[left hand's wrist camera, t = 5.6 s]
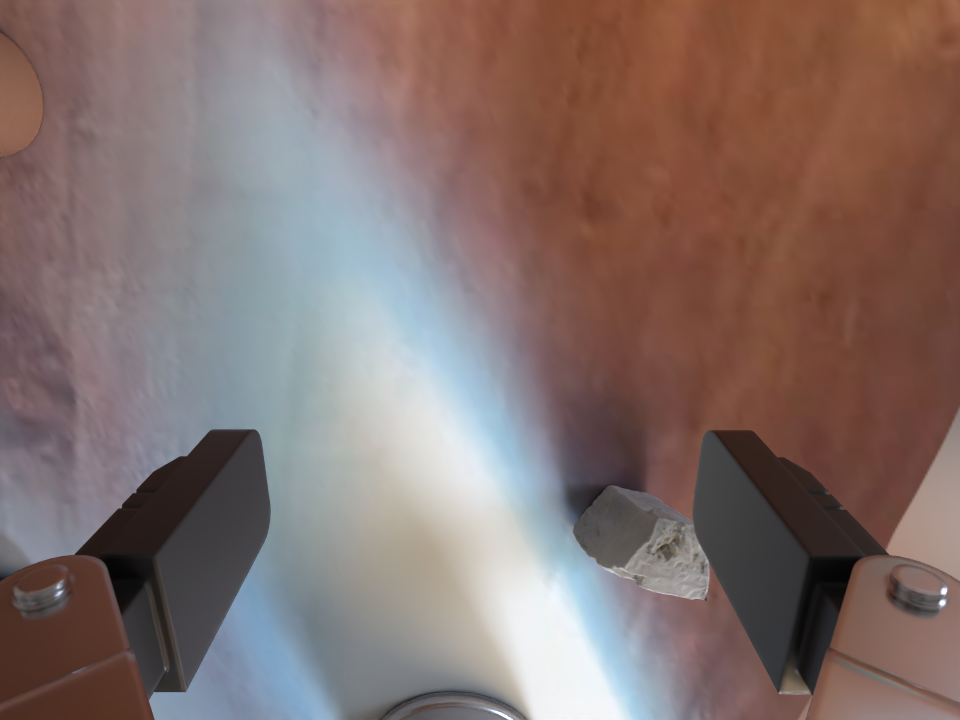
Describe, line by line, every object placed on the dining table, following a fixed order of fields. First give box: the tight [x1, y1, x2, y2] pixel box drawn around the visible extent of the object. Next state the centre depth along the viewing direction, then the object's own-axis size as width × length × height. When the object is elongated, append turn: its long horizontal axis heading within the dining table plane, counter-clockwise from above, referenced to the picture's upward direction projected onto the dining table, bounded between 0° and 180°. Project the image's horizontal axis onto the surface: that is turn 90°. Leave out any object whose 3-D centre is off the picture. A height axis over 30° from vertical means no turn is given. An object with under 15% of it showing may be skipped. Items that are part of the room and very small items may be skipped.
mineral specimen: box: [573, 485, 709, 601], centre depth 42 cm, size 7×9×8 cm
